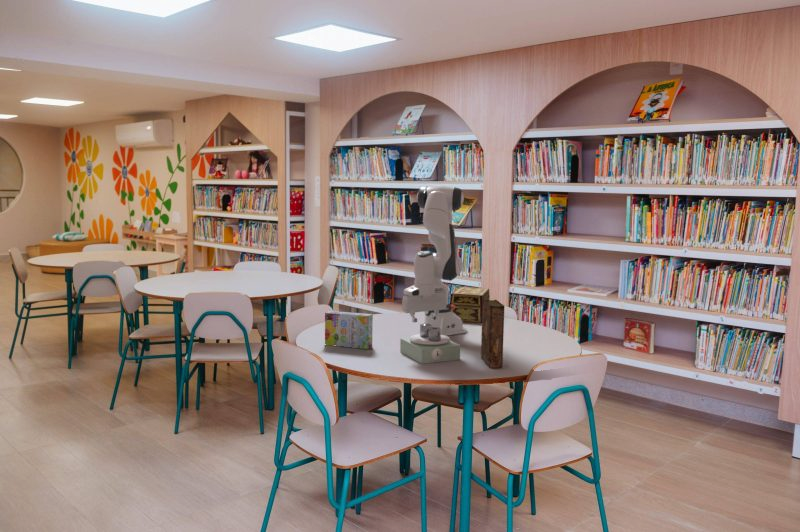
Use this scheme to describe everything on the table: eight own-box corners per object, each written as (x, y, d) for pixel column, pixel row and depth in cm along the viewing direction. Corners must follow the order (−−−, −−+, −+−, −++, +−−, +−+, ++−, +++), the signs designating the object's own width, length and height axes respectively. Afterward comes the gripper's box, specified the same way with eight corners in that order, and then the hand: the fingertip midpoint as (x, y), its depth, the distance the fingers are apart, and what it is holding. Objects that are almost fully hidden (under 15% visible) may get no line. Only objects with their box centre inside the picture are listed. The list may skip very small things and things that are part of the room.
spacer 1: (428, 334, 277) (428, 322, 277) (433, 336, 273) (433, 325, 272) (417, 335, 275) (418, 323, 274) (423, 337, 271) (423, 326, 270)
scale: (436, 348, 284) (437, 331, 283) (460, 359, 265) (461, 342, 264) (400, 351, 276) (400, 334, 275) (422, 364, 258) (422, 346, 257)
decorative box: (458, 311, 369) (458, 286, 367) (490, 314, 363) (491, 288, 361) (447, 321, 342) (448, 293, 340) (482, 323, 337) (483, 295, 335)
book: (503, 368, 253) (505, 306, 250) (489, 368, 253) (491, 306, 250) (493, 357, 269) (495, 299, 266) (480, 357, 269) (482, 299, 266)
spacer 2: (437, 338, 270) (437, 326, 269) (442, 341, 266) (443, 329, 265) (426, 339, 268) (426, 327, 267) (432, 342, 263) (432, 330, 263)
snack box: (372, 347, 284) (373, 313, 283) (368, 350, 279) (368, 316, 277) (329, 342, 291) (329, 310, 289) (324, 345, 286) (324, 312, 284)
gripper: (442, 286, 281) (441, 317, 283) (400, 290, 272) (400, 322, 274) (449, 288, 275) (449, 320, 277) (406, 292, 266) (406, 325, 268)
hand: (424, 321), depth 275 cm, fingers open, 8 cm apart
